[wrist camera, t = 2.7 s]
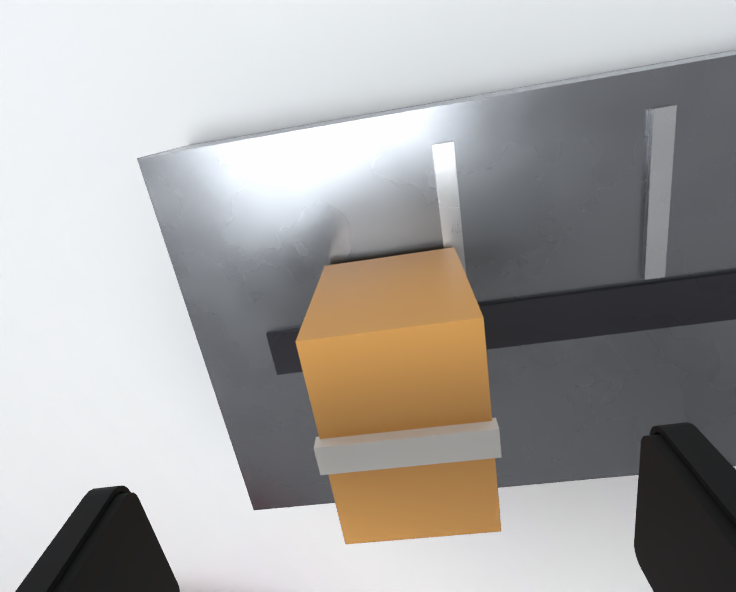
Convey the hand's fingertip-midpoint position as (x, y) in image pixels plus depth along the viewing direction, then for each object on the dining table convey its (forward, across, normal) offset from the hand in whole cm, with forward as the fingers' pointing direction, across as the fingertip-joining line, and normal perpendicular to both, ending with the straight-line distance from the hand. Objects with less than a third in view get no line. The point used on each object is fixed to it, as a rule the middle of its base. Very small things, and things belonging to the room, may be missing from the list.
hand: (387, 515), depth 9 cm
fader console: (+12, -9, 0) cm, 15 cm away
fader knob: (+7, -1, 0) cm, 7 cm away
